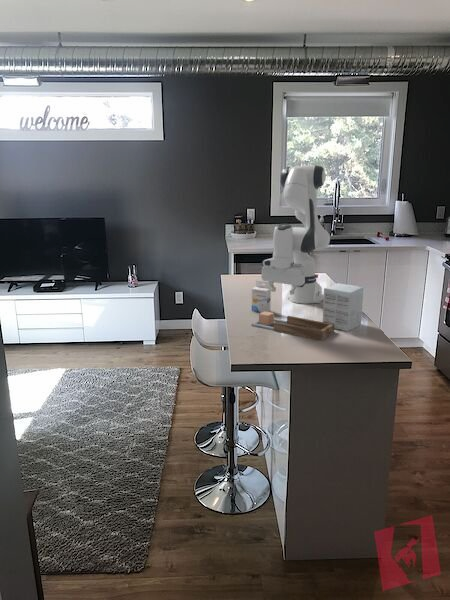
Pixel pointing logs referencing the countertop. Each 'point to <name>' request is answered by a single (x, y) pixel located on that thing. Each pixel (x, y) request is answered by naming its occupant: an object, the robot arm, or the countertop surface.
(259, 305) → the ink box
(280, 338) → the countertop surface
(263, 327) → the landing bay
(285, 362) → the countertop surface
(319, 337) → the walnut cubby
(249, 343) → the countertop surface
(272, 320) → the terracotta block
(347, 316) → the supplement box
